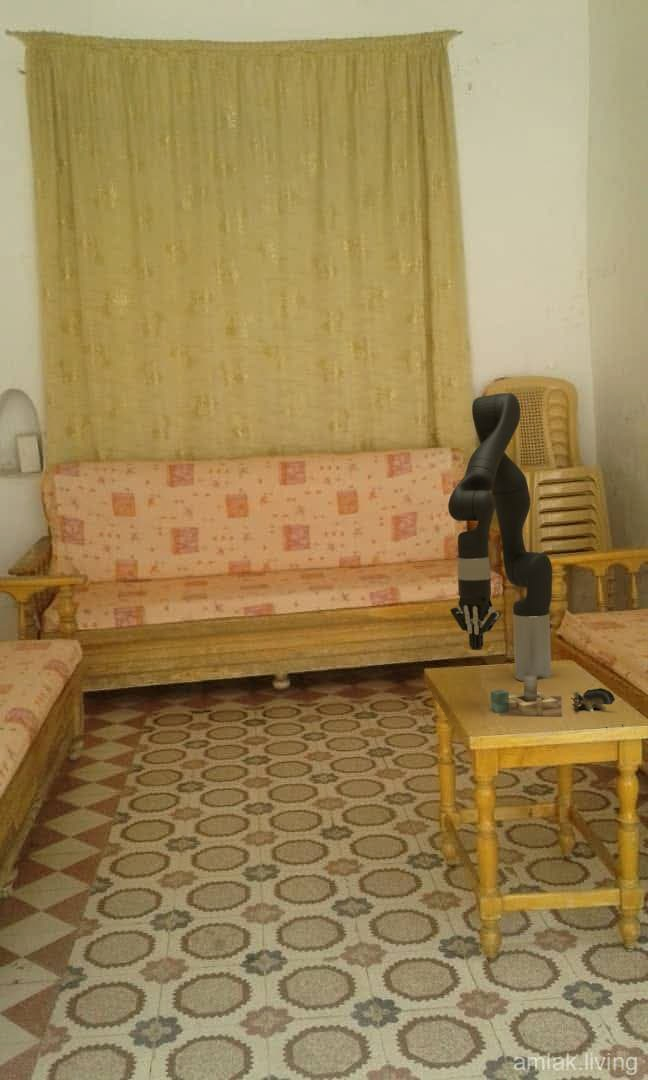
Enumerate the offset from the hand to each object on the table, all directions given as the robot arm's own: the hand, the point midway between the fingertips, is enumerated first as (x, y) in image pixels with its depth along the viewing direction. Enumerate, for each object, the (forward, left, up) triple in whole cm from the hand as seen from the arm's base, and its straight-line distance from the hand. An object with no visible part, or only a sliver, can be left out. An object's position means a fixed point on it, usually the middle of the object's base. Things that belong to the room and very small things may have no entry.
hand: (476, 649), depth 246 cm
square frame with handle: (0, +10, -14) cm, 17 cm away
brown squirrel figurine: (+2, +26, -15) cm, 30 cm away
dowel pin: (+7, +14, -14) cm, 21 cm away
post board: (-1, +12, -15) cm, 19 cm away
